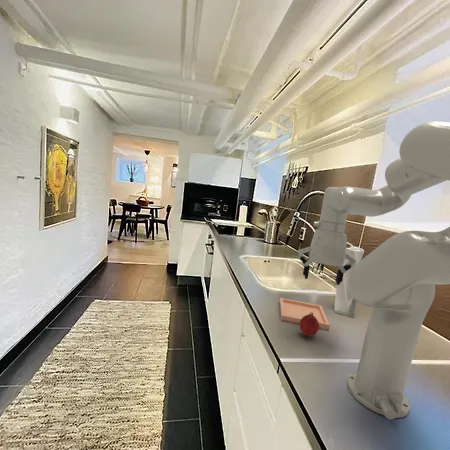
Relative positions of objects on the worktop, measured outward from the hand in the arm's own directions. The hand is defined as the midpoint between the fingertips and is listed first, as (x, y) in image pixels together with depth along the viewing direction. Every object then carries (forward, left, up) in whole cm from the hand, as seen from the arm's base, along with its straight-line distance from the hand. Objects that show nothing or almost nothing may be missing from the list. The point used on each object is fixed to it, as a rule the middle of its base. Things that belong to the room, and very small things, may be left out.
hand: (321, 280), depth 85 cm
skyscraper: (+24, -15, -18) cm, 34 cm away
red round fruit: (-3, +2, -18) cm, 18 cm away
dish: (+12, +2, -18) cm, 22 cm away
